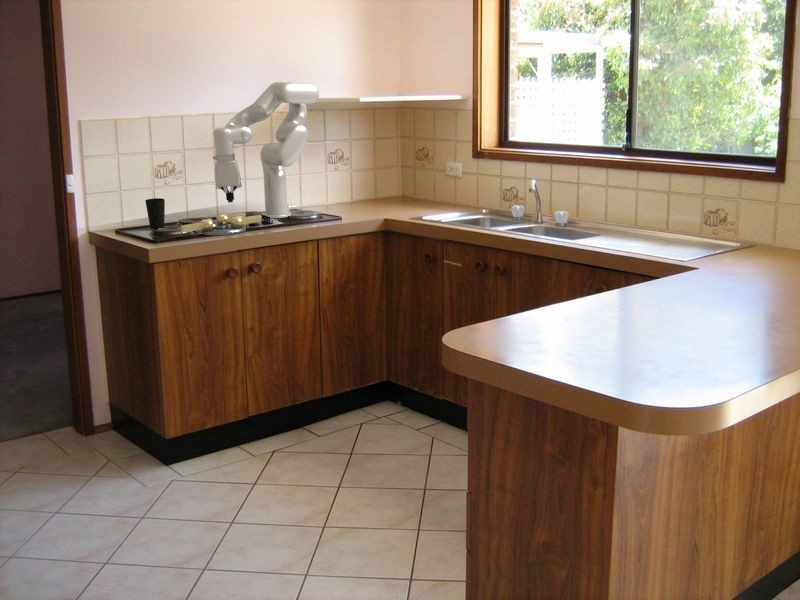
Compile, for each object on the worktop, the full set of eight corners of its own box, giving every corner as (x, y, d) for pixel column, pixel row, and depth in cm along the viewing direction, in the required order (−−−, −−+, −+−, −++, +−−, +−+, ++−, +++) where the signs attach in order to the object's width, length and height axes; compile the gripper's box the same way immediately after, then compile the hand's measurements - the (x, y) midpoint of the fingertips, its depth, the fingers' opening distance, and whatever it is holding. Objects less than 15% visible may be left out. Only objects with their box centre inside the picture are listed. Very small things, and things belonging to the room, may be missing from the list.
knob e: (208, 228, 362) (208, 217, 361) (216, 229, 359) (215, 219, 358) (179, 233, 352) (178, 223, 351) (186, 234, 349) (185, 224, 348)
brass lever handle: (235, 228, 360) (234, 218, 359) (228, 226, 364) (227, 216, 363) (263, 223, 370) (263, 213, 369) (257, 222, 373) (256, 212, 372)
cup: (155, 231, 364) (153, 202, 361) (143, 229, 369) (141, 200, 365) (170, 228, 370) (168, 199, 367) (159, 226, 375) (156, 197, 371)
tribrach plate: (225, 224, 377) (225, 218, 377) (256, 230, 364) (255, 223, 364) (185, 231, 363) (185, 225, 362) (215, 237, 350) (215, 231, 349)
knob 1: (222, 225, 366) (221, 215, 365) (214, 224, 369) (213, 214, 368) (248, 220, 377) (247, 210, 376) (240, 219, 380) (240, 209, 378)
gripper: (206, 160, 368) (211, 204, 373) (242, 158, 368) (247, 202, 374) (208, 157, 375) (214, 201, 381) (244, 155, 375) (249, 199, 381)
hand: (230, 201), depth 377 cm, fingers closed
